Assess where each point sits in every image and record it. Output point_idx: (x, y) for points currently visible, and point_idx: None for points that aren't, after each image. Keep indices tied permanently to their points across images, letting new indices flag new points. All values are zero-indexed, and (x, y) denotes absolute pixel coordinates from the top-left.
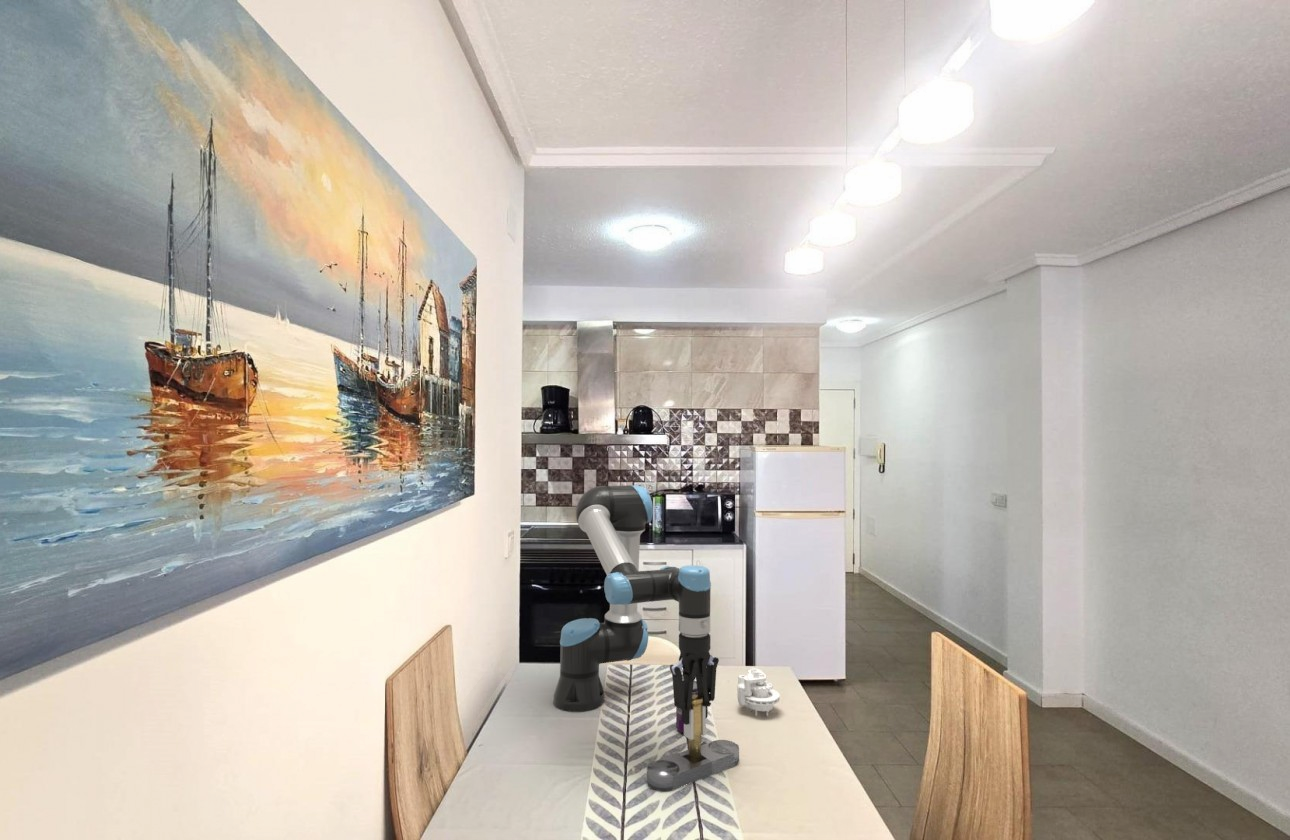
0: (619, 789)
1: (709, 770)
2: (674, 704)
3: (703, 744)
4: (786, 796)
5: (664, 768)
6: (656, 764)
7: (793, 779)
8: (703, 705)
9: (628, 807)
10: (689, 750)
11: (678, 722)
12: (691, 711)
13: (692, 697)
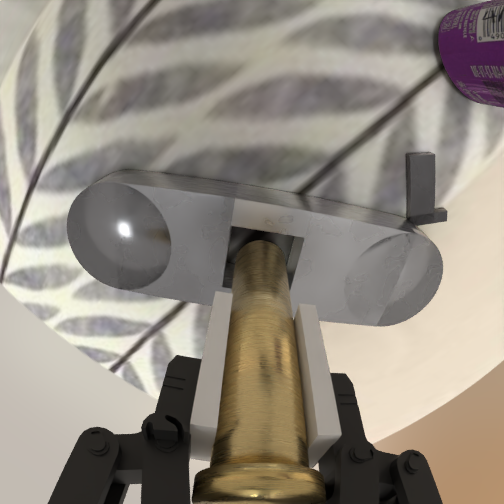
0: (27, 169)
1: None
2: (80, 437)
3: (371, 224)
4: None
5: (118, 243)
6: (111, 204)
7: (383, 391)
8: (320, 459)
9: (20, 243)
10: (233, 278)
11: (455, 26)
12: (194, 454)
13: (253, 502)
